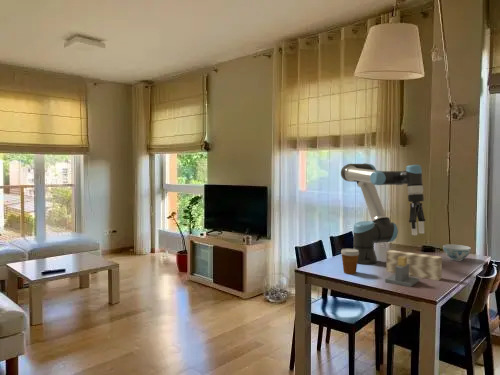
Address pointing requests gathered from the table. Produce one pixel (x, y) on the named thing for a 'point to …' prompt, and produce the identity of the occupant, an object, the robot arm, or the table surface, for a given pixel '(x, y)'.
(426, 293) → the table surface
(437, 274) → the birch beam
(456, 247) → the chinaware
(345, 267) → the disposable coffee cup
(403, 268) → the stand
